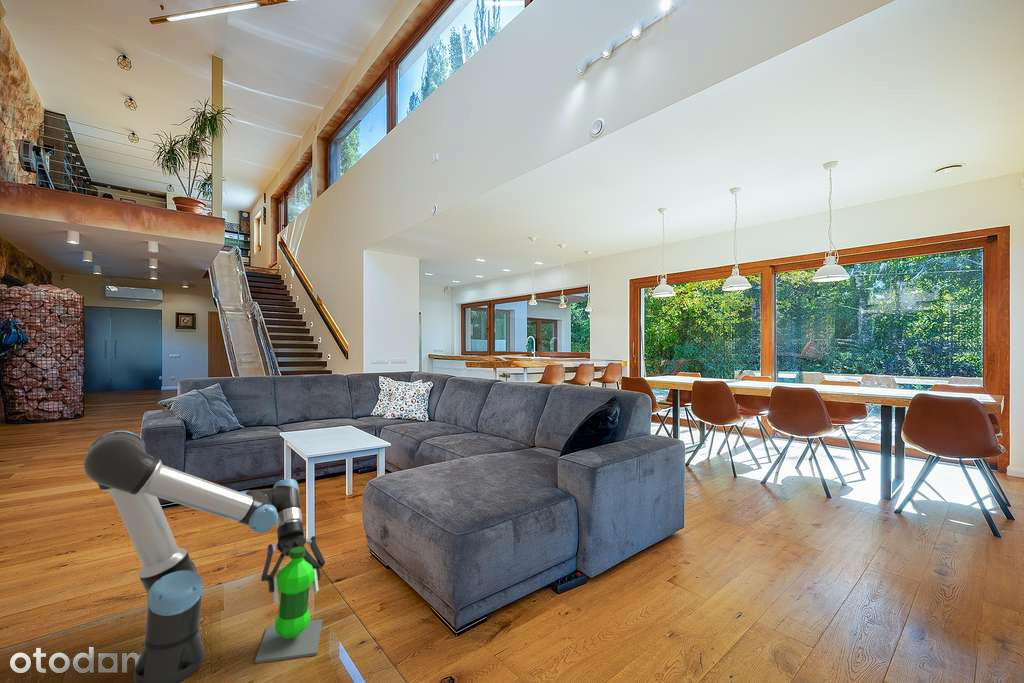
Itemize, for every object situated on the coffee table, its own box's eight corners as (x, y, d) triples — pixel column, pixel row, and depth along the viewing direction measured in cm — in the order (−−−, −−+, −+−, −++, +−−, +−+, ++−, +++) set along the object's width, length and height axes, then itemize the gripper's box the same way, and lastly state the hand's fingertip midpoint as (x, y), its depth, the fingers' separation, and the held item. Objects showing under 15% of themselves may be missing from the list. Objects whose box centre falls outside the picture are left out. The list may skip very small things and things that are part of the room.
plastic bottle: (307, 618, 139) (313, 539, 140) (311, 638, 130) (318, 554, 131) (271, 627, 134) (278, 545, 135) (273, 648, 125) (280, 560, 126)
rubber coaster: (254, 663, 122) (254, 660, 122) (267, 628, 137) (267, 625, 137) (316, 655, 127) (317, 652, 127) (322, 621, 142) (322, 619, 142)
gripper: (323, 524, 152) (333, 591, 139) (247, 538, 138) (250, 613, 125) (329, 514, 148) (339, 582, 135) (251, 527, 134) (254, 604, 121)
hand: (296, 597), depth 130 cm, fingers closed on plastic bottle, 10 cm apart
